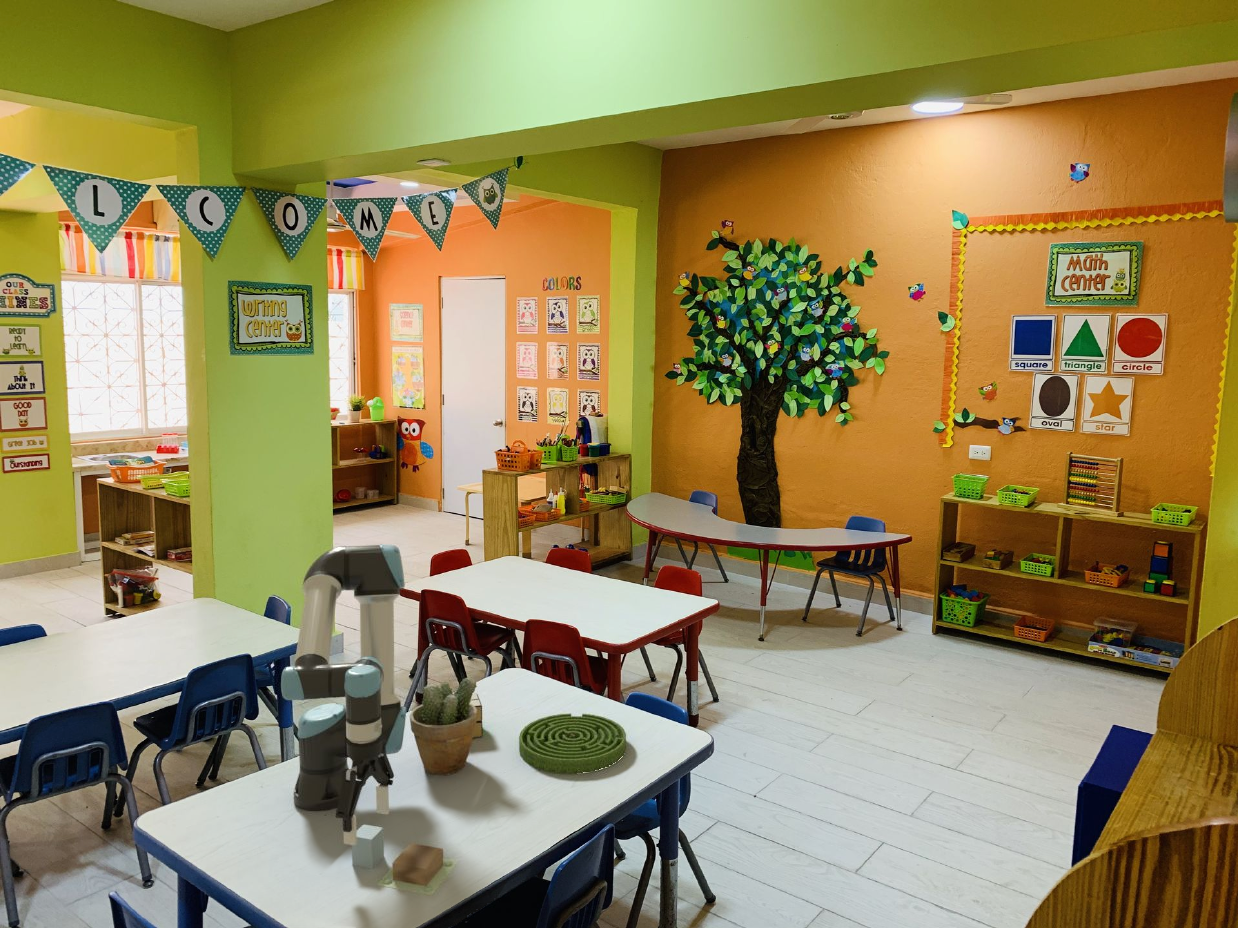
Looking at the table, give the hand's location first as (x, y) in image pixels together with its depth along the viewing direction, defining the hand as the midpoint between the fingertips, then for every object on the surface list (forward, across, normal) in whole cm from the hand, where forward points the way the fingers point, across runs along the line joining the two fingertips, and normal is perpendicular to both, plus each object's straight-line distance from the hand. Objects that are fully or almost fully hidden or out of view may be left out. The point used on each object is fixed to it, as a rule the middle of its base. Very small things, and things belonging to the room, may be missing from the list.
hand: (367, 827), depth 200 cm
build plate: (+9, 0, -13) cm, 16 cm away
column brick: (+9, 0, 0) cm, 9 cm away
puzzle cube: (+8, +70, +9) cm, 71 cm away
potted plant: (+8, +48, +5) cm, 50 cm away
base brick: (+8, 0, -13) cm, 15 cm away
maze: (+9, +68, -26) cm, 74 cm away
